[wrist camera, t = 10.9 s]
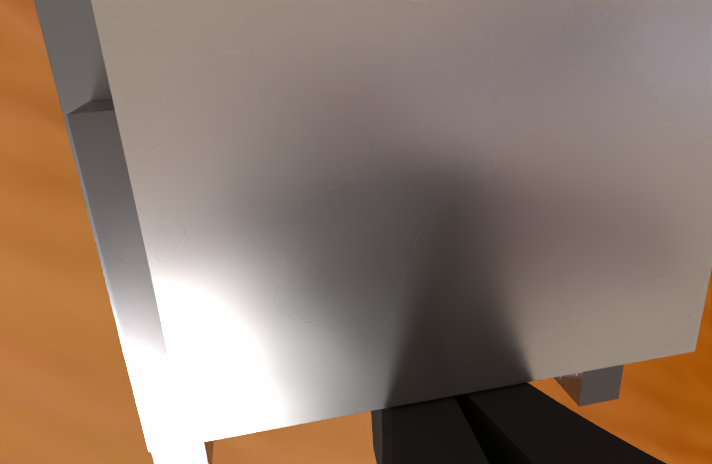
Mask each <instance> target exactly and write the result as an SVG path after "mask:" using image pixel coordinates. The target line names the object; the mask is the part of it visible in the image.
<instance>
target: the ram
mask: <svg viewBox="0 0 712 464" xmlns="http://www.w3.org/2000/svg"><path fill="white" fill-rule="evenodd" d="M91 3H92V8H93V12H94V17H95V21H96V26H97V31H98V35H99V40H100V44H101V49H102V54H103V58H104V63H105V67H106V72H107V76H108V81H109V86H110V90H111V95H112V99H113V104H114V108H115V113H116V118H117V122H118V127H119V131H120V136H121V140H122V145H123V150H124V154H125V159H126V163H127V168H128V172H129V177H130V182H131V186H132V191H133V195H134V200H135V204H136V209H137V214H138V218H139V223H140V227H141V232H142V236H143V241H144V246H145V250H146V255H147V259H148V264H149V269H150V273H151V278H152V282H153V287H154V291H155V296H156V301H157V305H158V310H159V314H160V319H161V323H162V328H163V333H164V337H165V342H166V346H167V351H168V355H169V360H170V365H171V369H172V374H173V378H174V383H175V387H176V392H177V397H178V401H179V406H180V410H181V415H182V419H183V424H184V429H185V433H186V438H187V442H188V445H189V444H194V443H200V442H205V441H210V440H216V439H221V438H227V437H232V436H238V435H243V434H248V433H254V432H259V431H265V430H270V429H276V428H281V427H286V426H292V425H297V424H303V423H308V422H313V421H319V420H324V419H330V418H335V417H341V416H346V415H351V414H357V413H362V412H368V411H373V410H379V409H384V408H389V407H395V406H400V405H406V404H411V403H417V402H422V401H427V400H433V399H438V398H444V397H449V396H454V395H460V394H465V393H471V392H476V391H482V390H487V389H492V388H498V387H503V386H509V385H514V384H520V383H525V382H530V381H536V380H541V379H547V378H552V377H558V376H563V375H568V374H574V373H579V372H585V371H590V370H595V369H601V368H606V367H612V366H617V365H623V364H628V363H633V362H639V361H644V360H650V359H655V358H661V357H666V356H671V355H677V354H682V353H688V352H693V351H695V348H696V343H697V338H698V333H699V328H700V323H701V318H702V313H703V308H704V303H705V298H706V293H707V288H708V283H709V278H710V274H711V269H712V0H91Z"/></svg>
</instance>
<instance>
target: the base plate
mask: <svg viewBox="0 0 712 464" xmlns="http://www.w3.org/2000/svg"><path fill="white" fill-rule="evenodd" d="M34 2H35V6H36V10H37V14H38V18H39V22H40V26H41V30H42V34H43V38H44V42H45V45H46V49H47V53H48V57H49V61H50V65H51V69H52V73H53V77H54V81H55V85H56V89H57V93H58V97H59V101H60V105H61V108H62V112H63V116H64V120H65V124H66V128H67V132H68V136H69V140H70V144H71V148H72V152H73V156H74V160H75V164H76V168H77V171H78V175H79V179H80V183H81V187H82V191H83V195H84V199H85V203H86V207H87V211H88V215H89V219H90V223H91V227H92V230H93V234H94V238H95V242H96V246H97V250H98V254H99V258H100V262H101V266H102V270H103V274H104V278H105V282H106V286H107V290H108V293H109V297H110V301H111V305H112V309H113V313H114V317H115V321H116V325H117V329H118V333H119V337H120V341H121V345H122V349H123V353H124V356H125V360H126V364H127V368H128V372H129V376H130V380H131V384H132V388H133V392H134V396H135V400H136V404H137V408H138V412H139V416H140V419H141V423H142V427H143V431H144V435H145V439H146V443H147V447H148V451H151V452H152V456H153V459H154V463H155V464H212V455H213V440H210V441H205V442H200V443H194V444H189V445H188V442H187V438H186V433H185V429H184V424H183V419H182V415H181V410H180V406H179V401H178V397H177V392H176V387H175V383H174V378H173V374H172V369H171V365H170V360H169V355H168V351H167V346H166V342H165V337H164V333H163V328H162V323H161V319H160V314H159V310H158V305H157V301H156V296H155V291H154V287H153V282H152V278H151V273H150V269H149V264H148V259H147V255H146V250H145V246H144V241H143V236H142V232H141V227H140V223H139V218H138V214H137V209H136V204H135V200H134V195H133V191H132V186H131V182H130V177H129V172H128V168H127V163H126V159H125V154H124V150H123V145H122V140H121V136H120V131H119V127H118V122H117V118H116V113H115V108H114V104H113V99H112V95H111V90H110V86H109V81H108V76H107V72H106V67H105V63H104V58H103V54H102V49H101V44H100V40H99V35H98V31H97V26H96V21H95V17H94V12H93V8H92V3H91V0H34ZM622 371H623V365H617V366H612V367H606V368H601V369H595V370H590V371H585V372H579V373H574V374H568V375H563V376H558V377H554V378H555V380H556V381H557V382H558V383H559V384H560V385H561V386H562V387H563V389H564V390H565V391H566V392H567V393H568V394H569V395H570V397H571V398H572V399H573V400H574V401H575V402H576V403H577V405H578V406H583V405H588V404H593V403H599V402H604V401H609V400H614V399H618V398H619V391H620V384H621V378H622Z"/></svg>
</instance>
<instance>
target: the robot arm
mask: <svg viewBox="0 0 712 464" xmlns="http://www.w3.org/2000/svg"><path fill="white" fill-rule="evenodd" d="M371 415H372V431H373V446H374V452H375V456H376V461H377V464H666V463H664V462H662V461H660V460H658V459H656V458H654V457H652V456H651V455H649V454H647V453H645V452H643V451H641V450H640V449H638V448H636V447H634V446H632V445H631V444H629V443H627V442H625V441H624V440H622V439H620V438H618V437H616V436H615V435H613V434H611V433H609V432H608V431H606V430H604V429H602V428H600V427H599V426H597V425H595V424H593V423H592V422H590V421H588V420H587V419H585V418H583V417H582V416H580V415H578V414H577V413H575V412H573V411H572V410H570V409H568V408H567V407H565V406H564V405H562V404H560V403H559V402H557V401H555V400H554V399H552V398H551V397H549V396H548V395H546V394H544V393H543V392H541V391H540V390H538V389H537V388H535V387H533V386H532V385H530V384H529V383H527V382H525V383H520V384H514V385H509V386H503V387H498V388H492V389H487V390H482V391H476V392H471V393H465V394H460V395H454V396H449V397H444V398H438V399H433V400H427V401H422V402H417V403H411V404H406V405H400V406H395V407H389V408H384V409H379V410H373V411H371Z"/></svg>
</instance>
